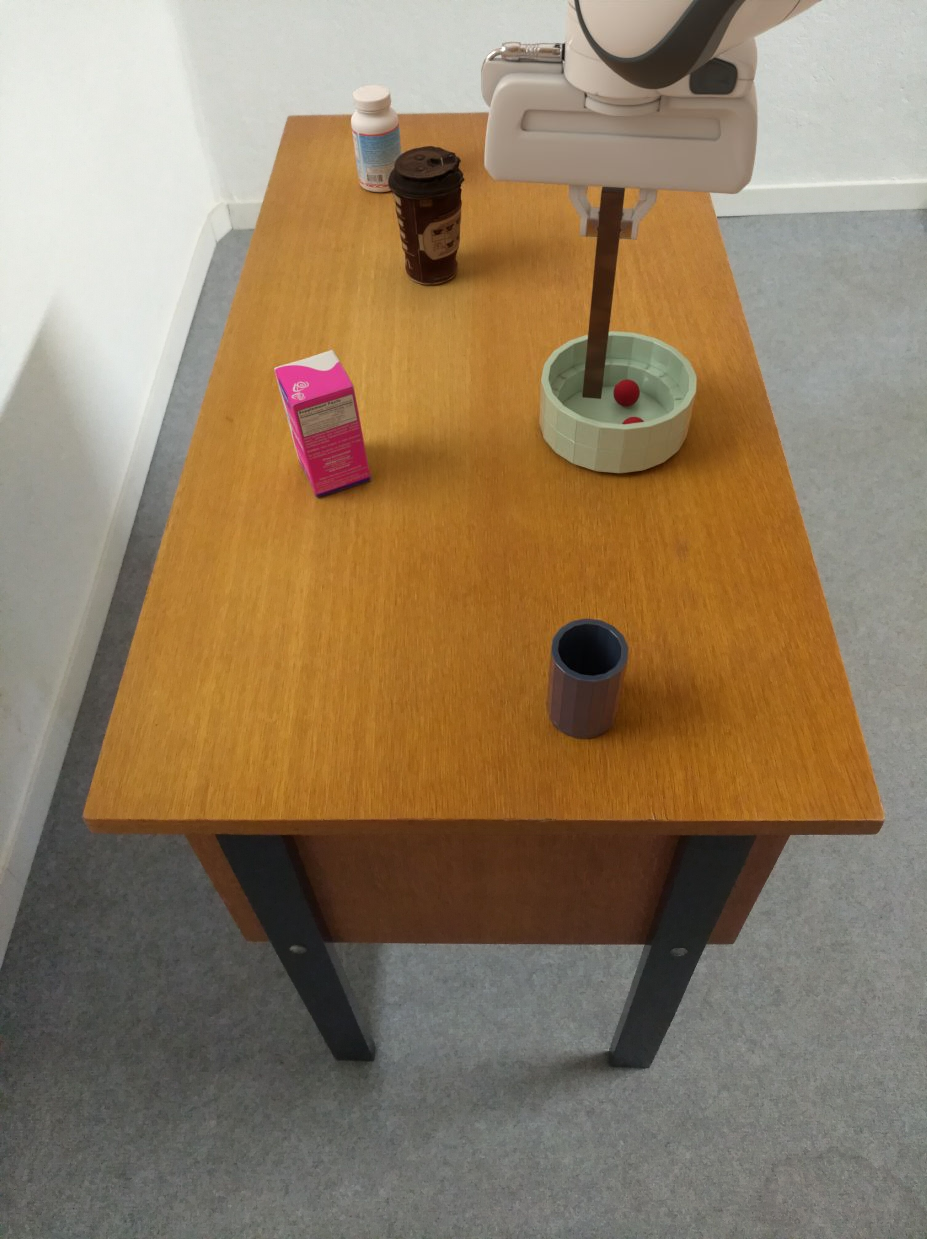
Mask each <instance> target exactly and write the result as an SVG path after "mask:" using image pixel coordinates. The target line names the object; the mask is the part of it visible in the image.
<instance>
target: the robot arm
mask: <svg viewBox="0 0 927 1239" xmlns="http://www.w3.org/2000/svg"><path fill="white" fill-rule="evenodd" d="M566 1H567V2H566V20H565V36H564V37H565V38H564V42H563V43H561V42H539V43H537V42H536V43H521V42H520V41H507V42H506V41H505V42H503V43H502V44H501V47H499V48H496V49H494V50H492V51H490V53H488V54H487V55H486V57H485V58H484V60H483V62H482V65H481V70H480V75H481V76H480V79H481V80H480V85H481V86H480V87H481V95H482V99H483V100H484V102H485V104H486V105H487V106H488V107H489V109H488V110H489V111H488V117H487V122H486V123H487V124H486V133H485V140H484V141H485V142H484V156H483V157H484V158H483V159H484V160H483V161H484V162H483V163H484V164H483V166H484V168H485V171H487V173H488V174H489V176H490V177H491V178H492V180H494V181H496V182H509V183H510V182H511V183H527V184H528V183H529V184H544V185H545V184H546V185H563V186H568V198H569V200H570V203H571V204H572V206H573V208H574V210H575V211H576V213H577V215H578V217H579V218H580V226H579V237H582V238H583V237H584V238H597V234H598V224H599V211H600V206H592V205H591V203H590V201H589V198H588V195H587V194H588V188H589V187H601V188H602V187H617V188H625V189H634V190H635V189H636V190H638V189H639V190H638V191H639V192H638V200H637V201H636V203H635V205H634V206H633V207H632V208H623V212H622V220H621V227H620V236H619V237H620V238H619V240H632V241H633V240H636V241H637V240H638V234H639V227H640V222H641V221H642V220H643V219H644V218H645V217H646V216H647V214H649V212H650V211H651V209H653V207H654V205H655V204H656V203H657V198H658V192H659V191H671V192H672V191H674V192H691V193H708V194H709V193H710V194H725V195H737V194H739V193H740V192H741V191H743V189H745V188H746V187H747V186H748V185H749V184H750V183H751V181H752V177H753V174H754V167H755V162H756V153H757V143H758V125H759V124H758V123H759V122H758V121H759V120H758V119H759V118H758V116H759V115H758V99H757V89H756V84H755V77H756V73H757V68H758V48H757V43H756V39H755V38H756V37H759V36H760V35H762V34H764V33H766V32H768V31H770V30H771V29H773V28H776V27H777V26H780V25H781V24H784V23H785V22H787V21H789V20H791V19H794V18H795V17H797V16H799V15H801V14H802V13H804V12H806V11H808V10H809V9H811V8H812V7H814V6H815V5H816V4H818V3H820V2H821V1H822V0H566ZM498 56H500V57H498Z"/></svg>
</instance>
